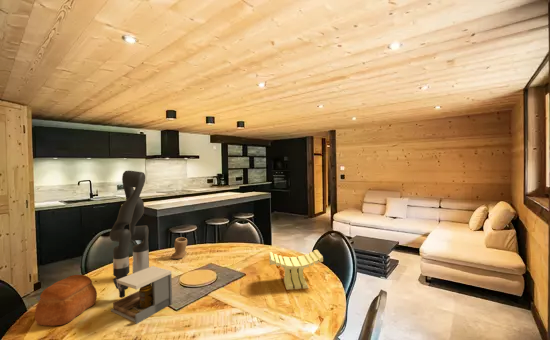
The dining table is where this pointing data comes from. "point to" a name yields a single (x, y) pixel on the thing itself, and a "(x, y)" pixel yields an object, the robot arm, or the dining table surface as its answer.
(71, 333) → the dining table surface
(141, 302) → the condiment
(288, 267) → the slatted curved stool
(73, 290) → the bread
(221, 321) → the dining table surface
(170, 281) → the grey coffee machine
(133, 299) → the tray
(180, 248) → the brown boot
